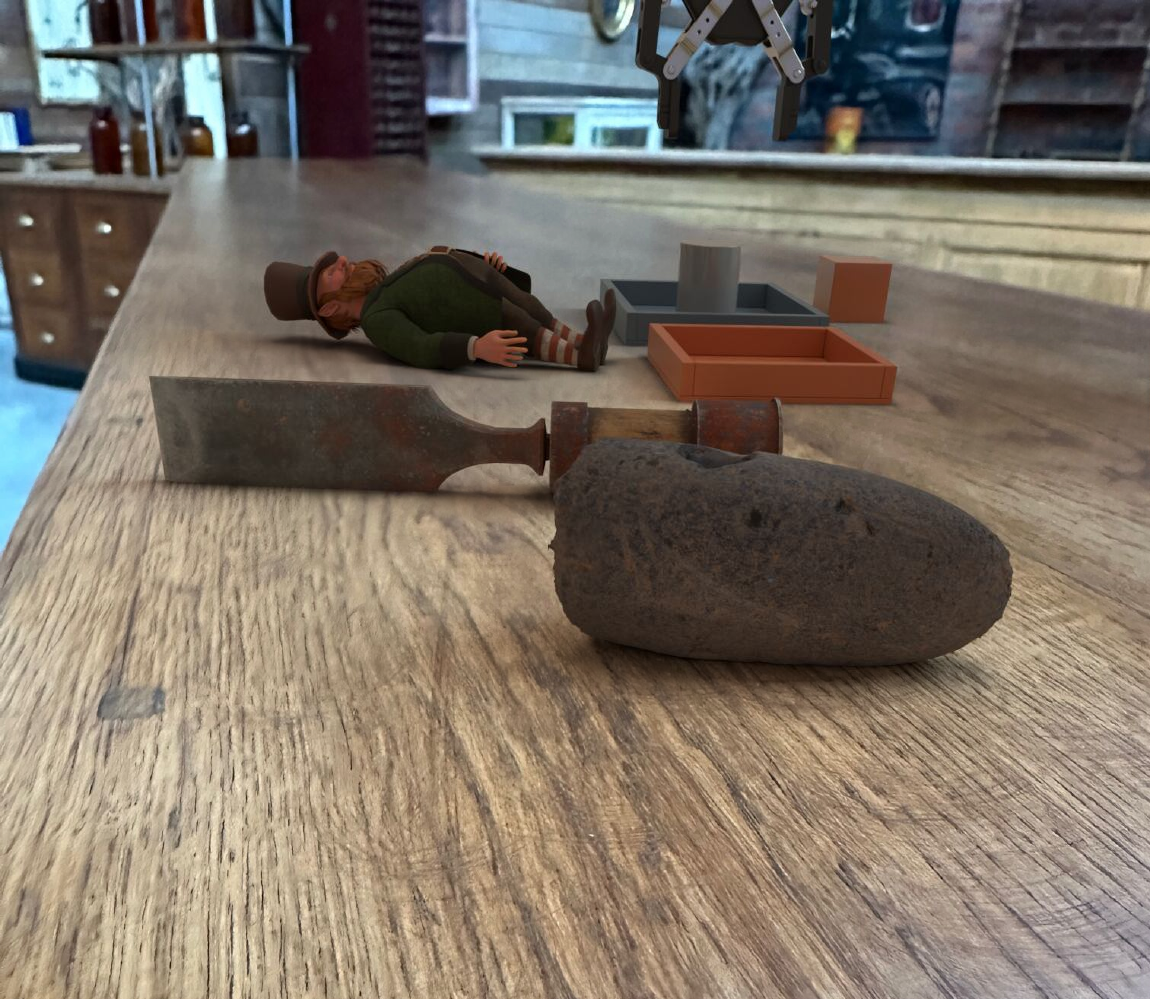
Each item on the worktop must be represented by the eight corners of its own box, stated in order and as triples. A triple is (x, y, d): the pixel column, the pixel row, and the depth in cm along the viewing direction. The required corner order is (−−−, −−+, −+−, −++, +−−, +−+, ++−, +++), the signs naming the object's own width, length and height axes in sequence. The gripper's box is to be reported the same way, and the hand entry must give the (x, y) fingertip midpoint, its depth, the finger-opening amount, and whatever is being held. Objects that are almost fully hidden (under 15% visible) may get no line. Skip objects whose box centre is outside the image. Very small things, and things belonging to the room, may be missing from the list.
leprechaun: (581, 352, 71) (213, 279, 74) (580, 460, 79) (250, 390, 82) (624, 241, 76) (277, 177, 79) (619, 354, 84) (306, 292, 87)
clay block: (864, 316, 103) (874, 256, 100) (882, 326, 98) (892, 263, 96) (811, 315, 102) (819, 254, 100) (826, 325, 98) (835, 262, 95)
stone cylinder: (727, 317, 96) (735, 240, 93) (740, 328, 92) (749, 247, 88) (669, 316, 95) (675, 238, 92) (679, 327, 91) (686, 245, 88)
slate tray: (770, 313, 102) (774, 282, 101) (825, 352, 87) (830, 316, 86) (599, 310, 100) (600, 278, 99) (625, 349, 85) (627, 312, 84)
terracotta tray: (829, 364, 83) (834, 326, 82) (890, 408, 72) (898, 365, 70) (646, 361, 82) (649, 323, 80) (679, 406, 70) (682, 362, 69)
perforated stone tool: (980, 645, 40) (1027, 450, 37) (1005, 712, 36) (1061, 498, 32) (566, 606, 42) (572, 416, 38) (541, 666, 38) (545, 458, 34)
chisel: (146, 503, 51) (127, 389, 48) (180, 471, 55) (164, 365, 52) (773, 525, 51) (788, 412, 48) (758, 492, 55) (771, 386, 53)
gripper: (653, -141, 75) (640, 139, 83) (863, -131, 76) (829, 144, 84) (637, -122, 81) (627, 136, 89) (830, -114, 82) (802, 140, 91)
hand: (725, 140), depth 87 cm, fingers open, 8 cm apart
